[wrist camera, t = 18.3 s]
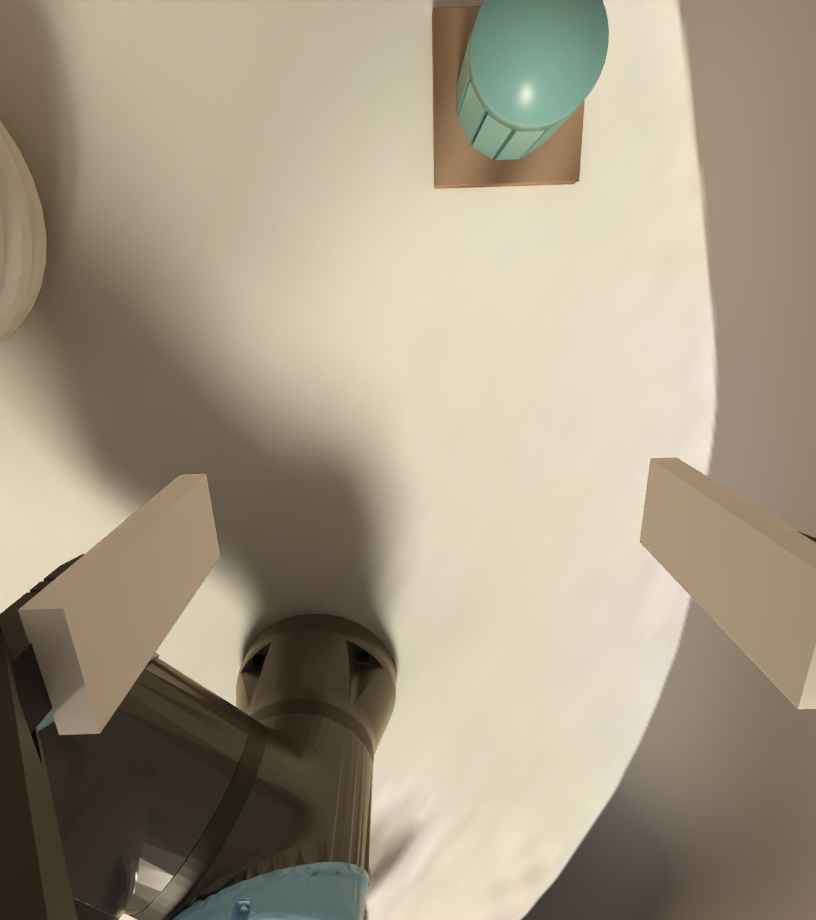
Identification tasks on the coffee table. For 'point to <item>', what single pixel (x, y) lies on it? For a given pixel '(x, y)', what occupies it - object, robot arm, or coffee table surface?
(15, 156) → the table lamp
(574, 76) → the cap
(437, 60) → the post base
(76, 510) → the coffee table surface
